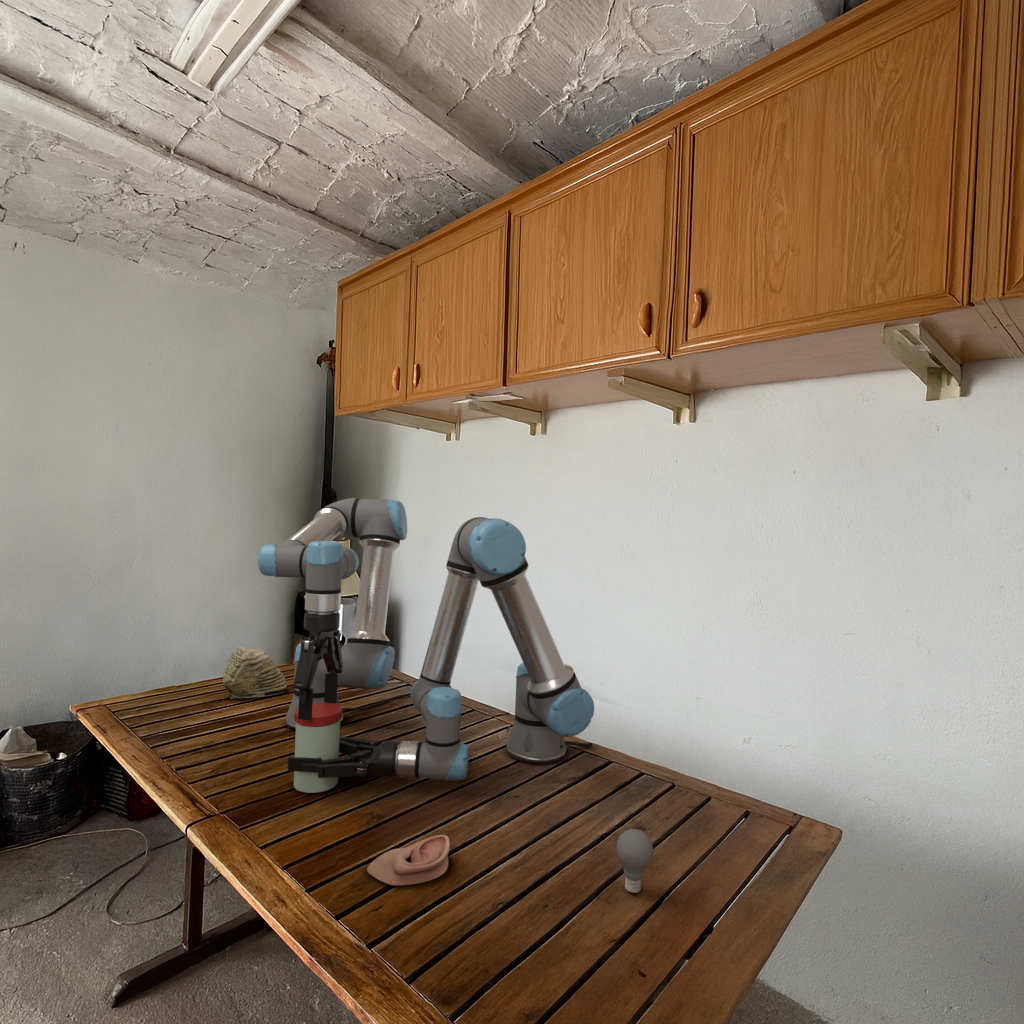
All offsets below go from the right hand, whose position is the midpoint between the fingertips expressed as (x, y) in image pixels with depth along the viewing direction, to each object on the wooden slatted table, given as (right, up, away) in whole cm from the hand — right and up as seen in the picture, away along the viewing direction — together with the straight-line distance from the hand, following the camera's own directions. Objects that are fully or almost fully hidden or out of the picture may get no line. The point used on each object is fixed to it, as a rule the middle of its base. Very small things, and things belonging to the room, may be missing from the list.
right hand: (296, 754), depth 140 cm
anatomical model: (+30, -8, -30) cm, 43 cm away
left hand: (+5, +10, -1) cm, 11 cm away
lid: (+5, +10, 0) cm, 11 cm away
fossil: (-33, -4, +58) cm, 67 cm away
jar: (+4, -6, 0) cm, 8 cm away
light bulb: (+68, -10, -34) cm, 76 cm away
